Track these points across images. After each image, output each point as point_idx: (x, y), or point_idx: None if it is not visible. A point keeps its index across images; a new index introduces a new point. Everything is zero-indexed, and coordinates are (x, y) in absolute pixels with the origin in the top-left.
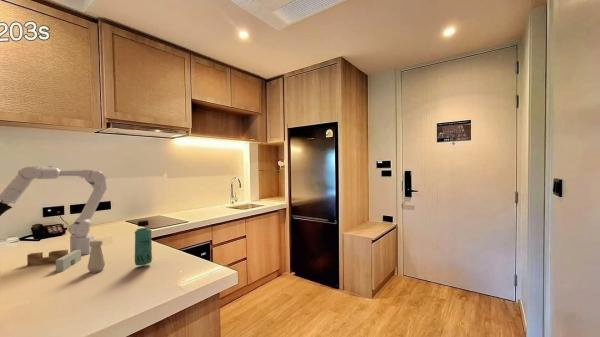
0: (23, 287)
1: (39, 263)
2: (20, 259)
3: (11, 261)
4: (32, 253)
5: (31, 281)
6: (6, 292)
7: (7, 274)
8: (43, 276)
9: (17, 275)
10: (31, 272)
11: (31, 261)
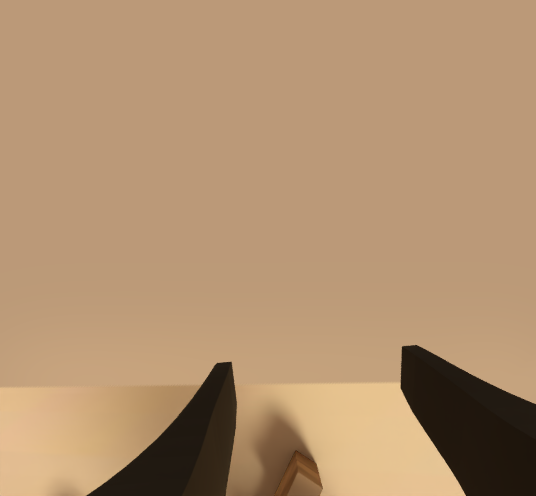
0: (8, 428)
1: (276, 494)
2: None
3: None
4: (311, 494)
5: (50, 450)
6: (8, 389)
7: None
8: (72, 488)
9: (175, 416)
10: None
11: (289, 471)
